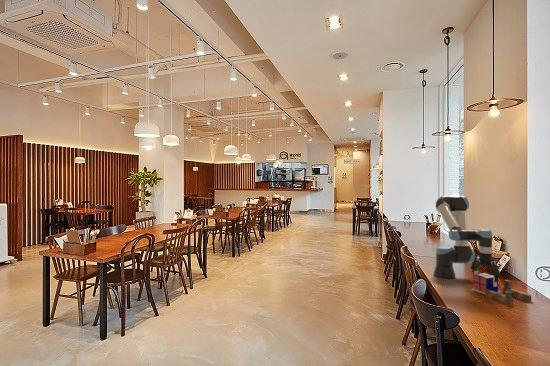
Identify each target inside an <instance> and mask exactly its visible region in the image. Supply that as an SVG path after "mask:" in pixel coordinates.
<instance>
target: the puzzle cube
mask: <svg viewBox="0 0 550 366" xmlns="http://www.w3.org/2000/svg"><path fill="white" fill-rule="evenodd" d="M493 277H494V275H493V274H489V273H486V272H483V273H478V274H474V275H473V288H474V289H476V290H479V291H482V292H485V290H487V289H489V290H491V291H494V292H499V281H498V282H497V287H493Z"/></svg>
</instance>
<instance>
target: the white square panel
mask: <svg viewBox="0 0 550 366" xmlns="http://www.w3.org/2000/svg"><path fill="white" fill-rule="evenodd" d="M471 290H472V291H475V292H477V293H480V294H483V295H485V292H482V291H479V290H476V289H474V287H473V288H471ZM497 293H500V294H501V292H500V291H498V292H497Z"/></svg>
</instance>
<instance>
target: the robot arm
mask: <svg viewBox="0 0 550 366" xmlns="http://www.w3.org/2000/svg"><path fill="white" fill-rule="evenodd" d="M469 208H470V202H469V200H468V198H467V197H466V196H465V195H442V196H440V197H438V199H437V200H436V202H435V209H436V211H437V212H438V213H440V215H441V217H442V219H443V220H444V223H445V224H446V226H447V229H448V237H449V240H451V241H454V242H455V243H454V245H453V246H451V245H440V246H438V247H436V249H435V260H436V261H435V267H434V270H433V276H435V277H438V278H440V279H449V280H450V279H452V280H453V279H455V278H456V273H455V270H454V266H453V264H471V266H470V269H471V270H472V272H473V273H472V274H473V276H474V274H479V269H480V268H481V267H482V266H483V267H486V268H487V269H489V271H490V272H491V275H492V276H494V277H493V287H497V282H498V283H499V278H501V277H502V274H501V272H500V270H499V267H498V263H497V261H492V259H493V254H492V253H493V232H492V230H490V229H487V228H486V229H485V228H482V229H477V228H476V229H473V228H472V229H467V223H466V216H465V214H466V213H467V211H468V209H469ZM469 241H470V242H472V241H473V242H475V241H476V242H478V256H476V253H475V250H474V249H473V248H471V245H470V244H469Z"/></svg>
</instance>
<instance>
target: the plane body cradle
mask: <svg viewBox="0 0 550 366" xmlns="http://www.w3.org/2000/svg"><path fill="white" fill-rule="evenodd" d="M484 296H485V297H487V298H490V299H493V300H495V301H498V302H501V303H504V304H507V305H509V306H513V305H514V298H516V299H519V300H522V301H524V302H528V303H530V302H532V295H531V294H529V293H526V292H522V291H520V290H516V289H514V288H512V281H511V280H509V279H504V280H503V287H502V293H501V292H500V293H497V292H494V291H491V290H489V289H487V290H485V294H484Z"/></svg>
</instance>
